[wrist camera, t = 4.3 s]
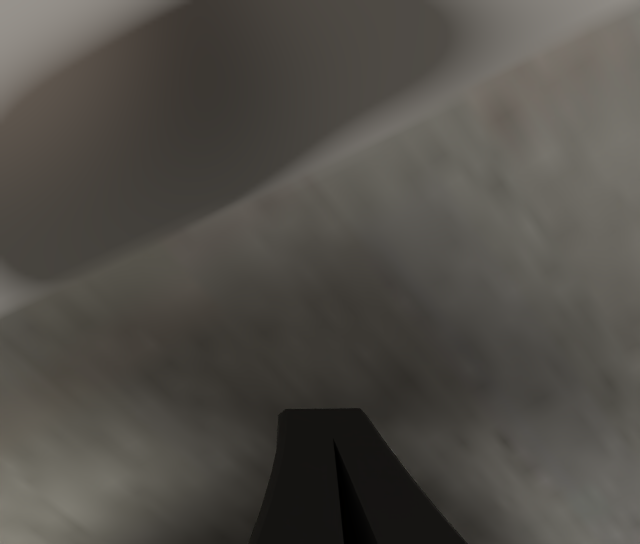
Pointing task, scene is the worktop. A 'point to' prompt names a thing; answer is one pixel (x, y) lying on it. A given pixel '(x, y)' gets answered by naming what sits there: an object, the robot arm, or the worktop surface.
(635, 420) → the worktop surface
